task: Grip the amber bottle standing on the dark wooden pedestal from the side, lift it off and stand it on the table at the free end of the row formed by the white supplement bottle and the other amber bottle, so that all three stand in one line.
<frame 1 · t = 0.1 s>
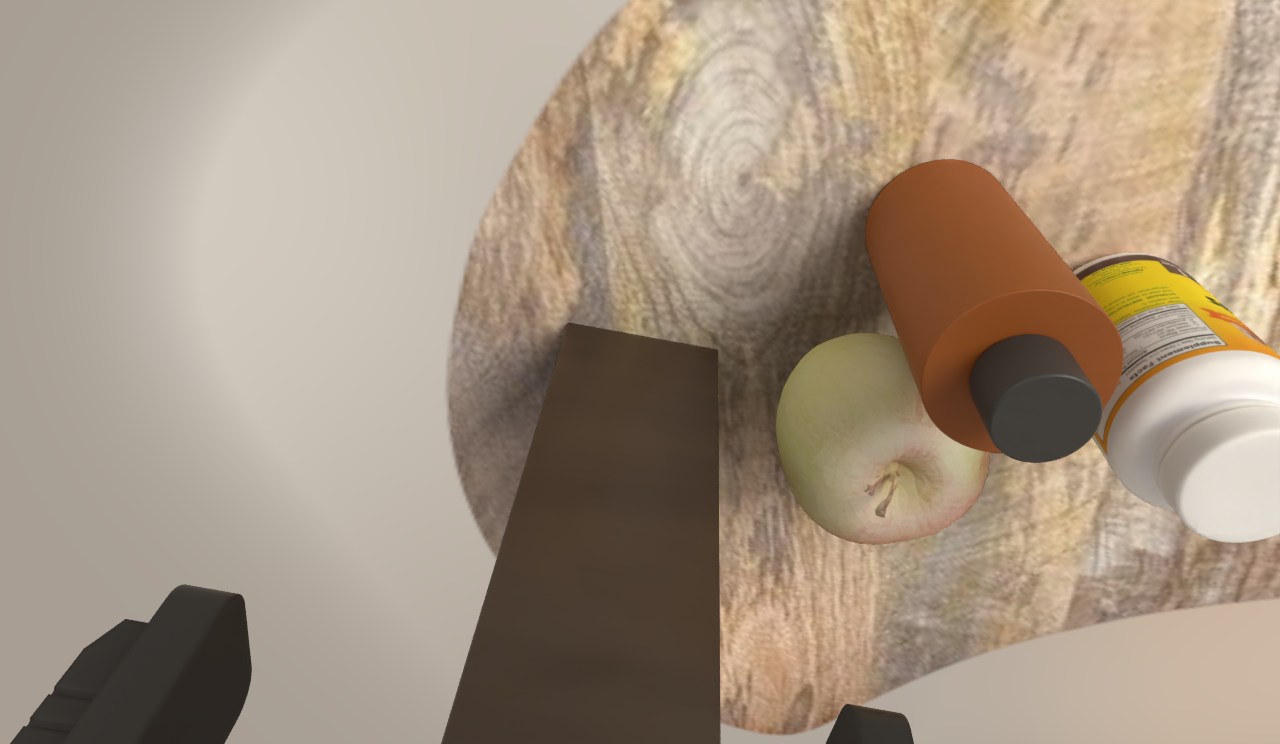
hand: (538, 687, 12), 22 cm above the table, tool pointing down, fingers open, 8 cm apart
fruit: (862, 384, 35), on the table
pedestal: (631, 398, 36), on the table
supplement bottle: (1107, 311, 32), on the table
amber bottle A: (936, 227, 31), on the table
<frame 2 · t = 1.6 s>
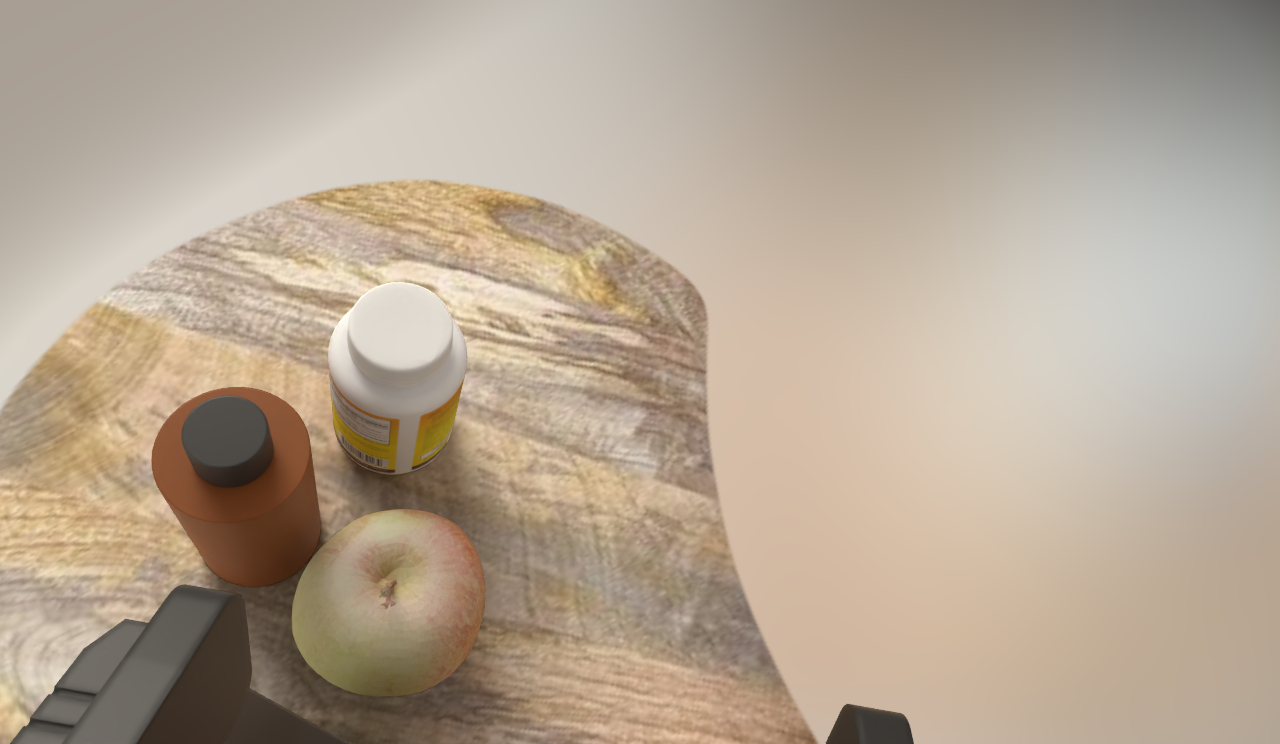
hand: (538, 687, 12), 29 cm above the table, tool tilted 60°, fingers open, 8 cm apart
fruit: (392, 618, 39), on the table
supplement bottle: (393, 425, 42), on the table
amber bottle A: (261, 530, 39), on the table
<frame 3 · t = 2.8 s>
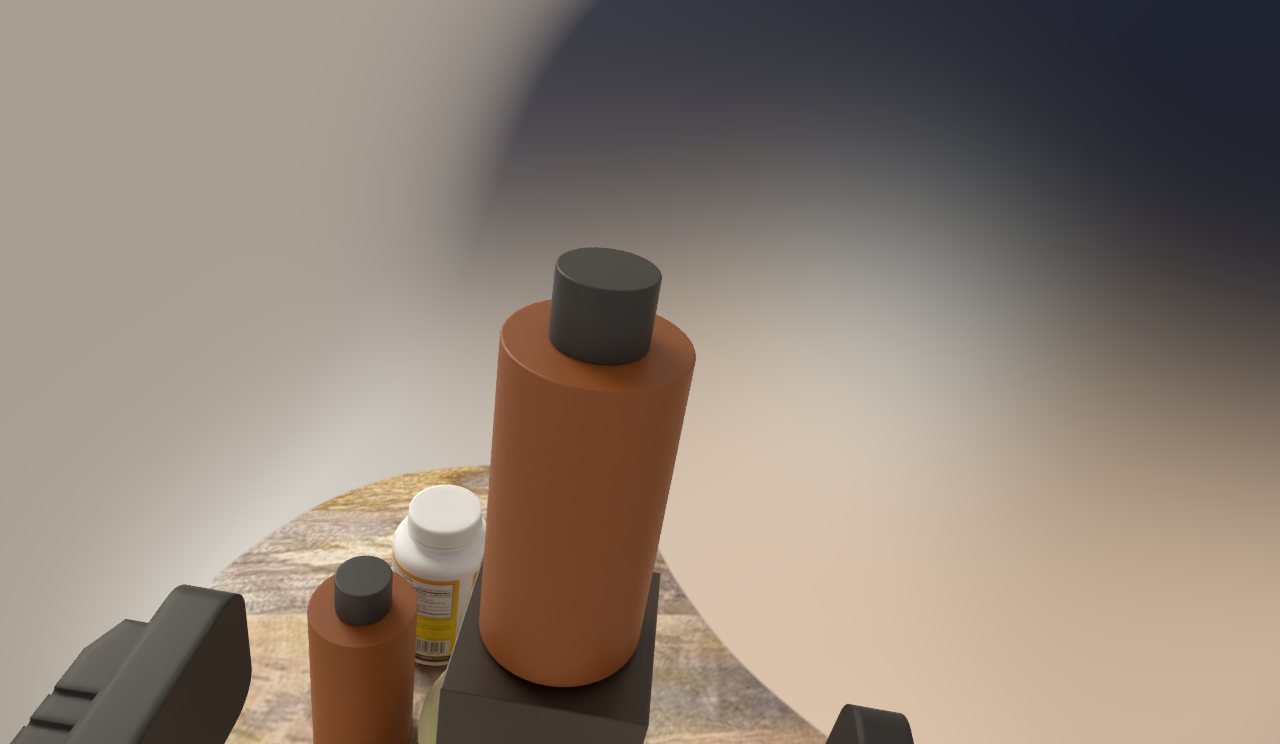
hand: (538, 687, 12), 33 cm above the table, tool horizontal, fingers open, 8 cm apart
amber bottle B: (560, 622, 27), point 22 cm above the table, touching pedestal
supplement bottle: (437, 635, 53), on the table
amber bottle A: (363, 732, 47), on the table
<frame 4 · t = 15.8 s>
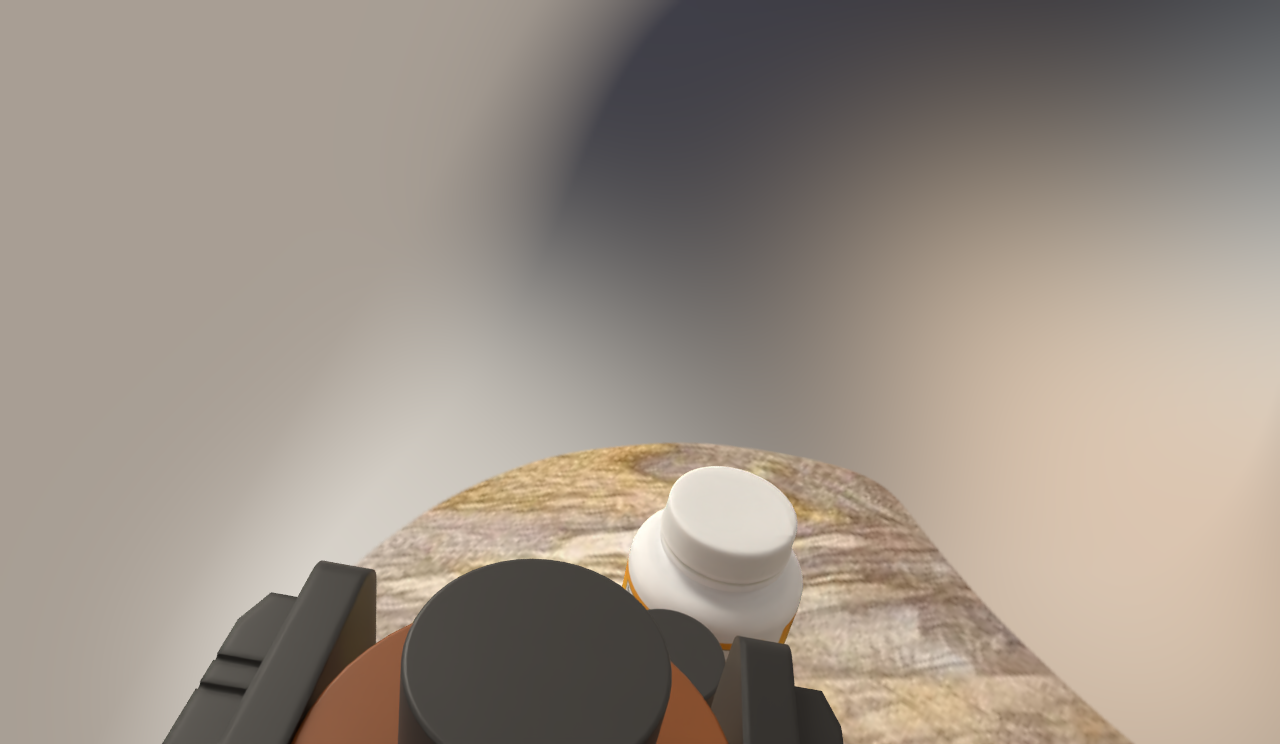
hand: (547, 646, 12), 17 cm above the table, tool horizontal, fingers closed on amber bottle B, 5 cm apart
supplement bottle: (669, 720, 32), on the table
when the fingers open (9 cm above the table, at t = 18.5 s): amber bottle B stays where it is, on the table.
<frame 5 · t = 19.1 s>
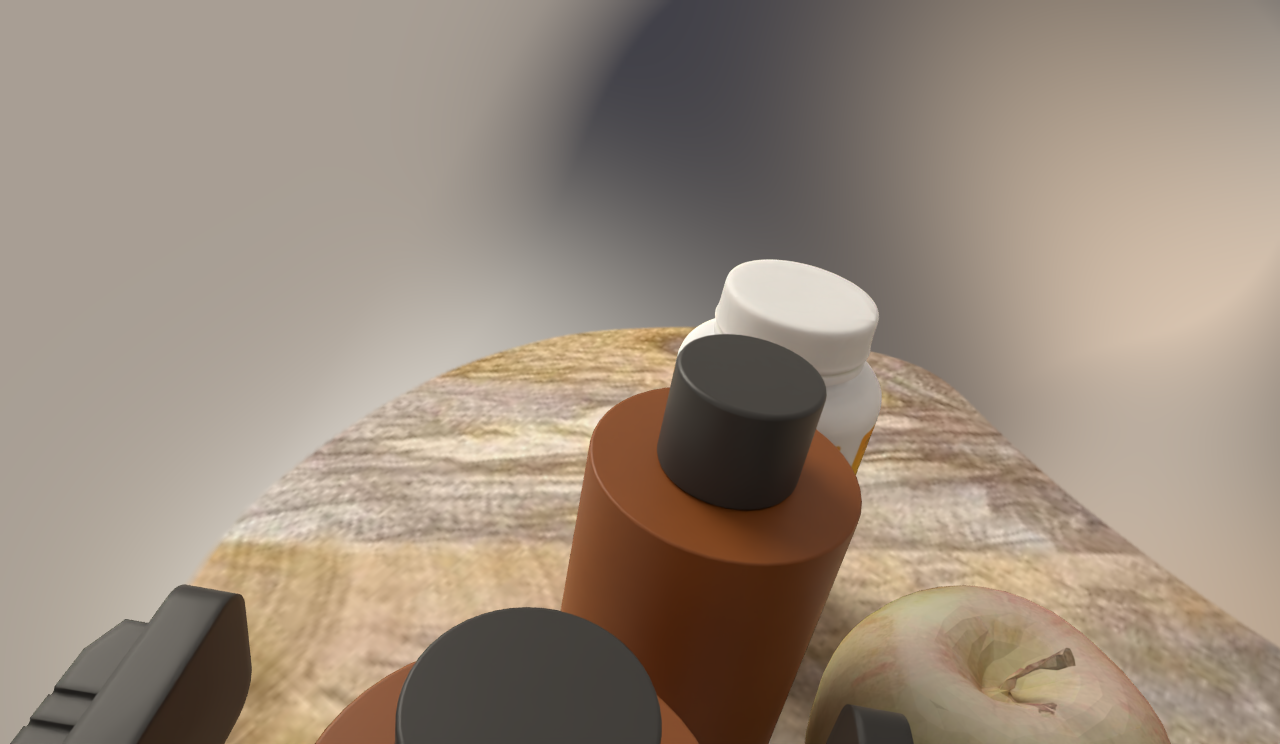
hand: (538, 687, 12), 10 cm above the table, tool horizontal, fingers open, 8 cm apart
supplement bottle: (715, 584, 27), on the table
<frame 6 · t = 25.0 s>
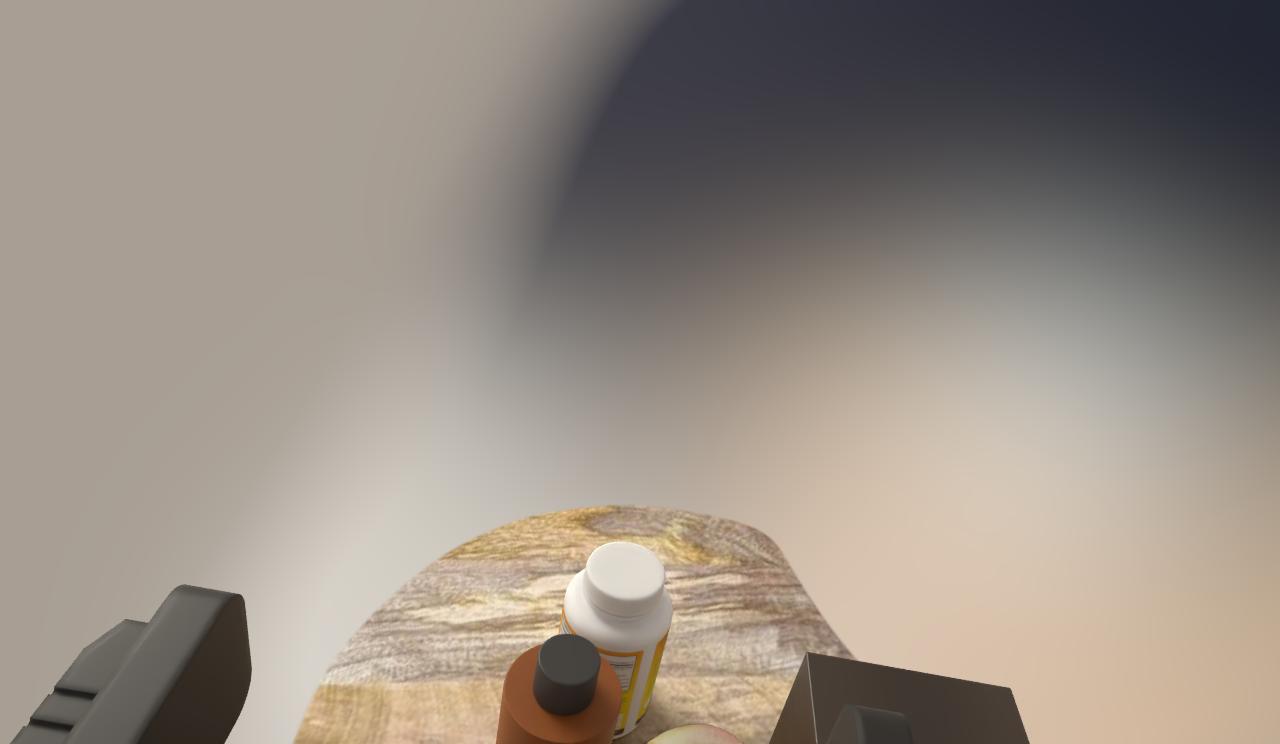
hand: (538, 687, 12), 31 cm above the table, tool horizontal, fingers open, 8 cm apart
supplement bottle: (597, 702, 48), on the table
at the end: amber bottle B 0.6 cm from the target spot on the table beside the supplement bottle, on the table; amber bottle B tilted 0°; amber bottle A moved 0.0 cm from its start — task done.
